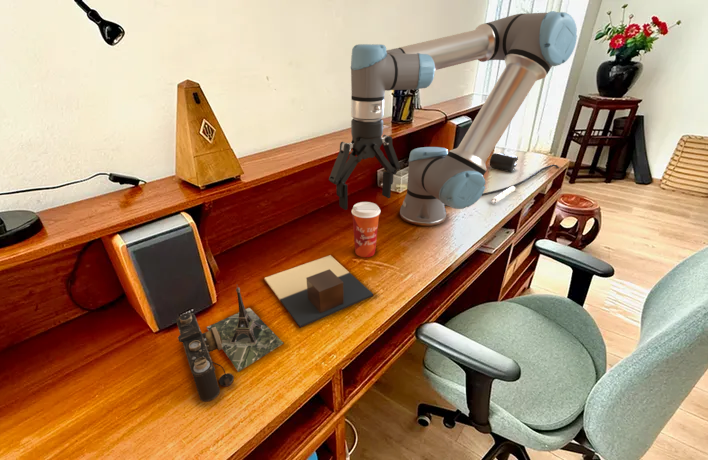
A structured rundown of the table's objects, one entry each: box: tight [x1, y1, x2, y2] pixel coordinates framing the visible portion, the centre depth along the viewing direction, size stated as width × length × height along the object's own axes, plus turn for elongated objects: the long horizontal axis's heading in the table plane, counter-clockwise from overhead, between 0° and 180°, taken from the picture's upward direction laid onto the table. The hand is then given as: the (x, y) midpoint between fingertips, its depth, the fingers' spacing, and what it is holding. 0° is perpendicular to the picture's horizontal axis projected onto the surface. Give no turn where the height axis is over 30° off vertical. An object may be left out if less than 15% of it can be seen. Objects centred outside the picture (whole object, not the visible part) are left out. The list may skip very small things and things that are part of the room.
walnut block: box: [306, 269, 344, 313], centre depth 81 cm, size 6×6×6 cm
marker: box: [490, 185, 516, 204], centre depth 135 cm, size 18×2×2 cm, turn 136°
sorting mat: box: [263, 254, 374, 329], centre depth 88 cm, size 19×20×1 cm
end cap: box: [489, 152, 519, 173], centre depth 161 cm, size 10×7×7 cm
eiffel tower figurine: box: [206, 285, 285, 373], centre depth 70 cm, size 15×10×13 cm
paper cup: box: [351, 201, 381, 258], centre depth 99 cm, size 8×8×14 cm
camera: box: [176, 312, 235, 403], centre depth 66 cm, size 16×7×8 cm, turn 33°
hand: (365, 201), depth 95 cm, fingers open, 13 cm apart
